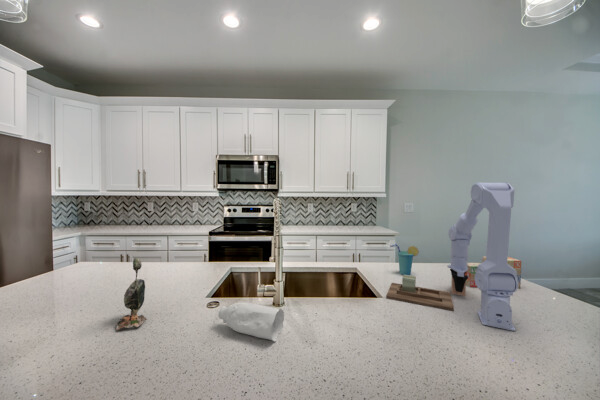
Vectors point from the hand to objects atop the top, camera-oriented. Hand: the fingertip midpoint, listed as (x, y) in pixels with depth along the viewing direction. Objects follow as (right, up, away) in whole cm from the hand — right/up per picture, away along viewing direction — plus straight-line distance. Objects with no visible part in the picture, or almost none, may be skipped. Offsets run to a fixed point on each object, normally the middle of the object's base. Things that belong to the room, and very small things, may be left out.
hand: (458, 289), depth 102 cm
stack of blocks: (+20, -2, +9) cm, 22 cm away
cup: (-13, -1, +23) cm, 27 cm away
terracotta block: (0, -2, 0) cm, 2 cm away
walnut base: (-18, -1, -4) cm, 18 cm away
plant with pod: (-115, -1, -26) cm, 118 cm away
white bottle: (-78, -2, -32) cm, 84 cm away
